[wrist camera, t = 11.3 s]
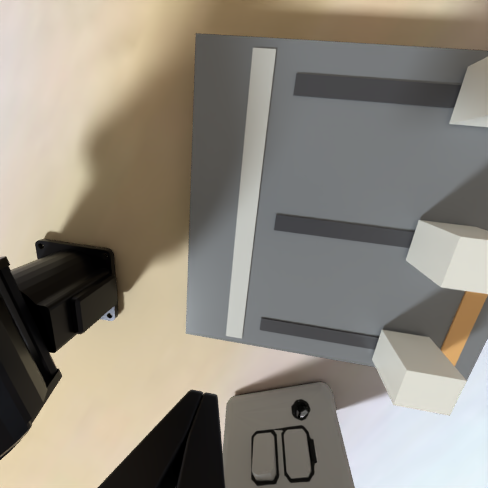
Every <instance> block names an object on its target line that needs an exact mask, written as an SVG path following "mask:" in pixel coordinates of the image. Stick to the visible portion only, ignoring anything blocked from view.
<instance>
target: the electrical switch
mask: <svg viewBox="0 0 488 488" xmlns="http://www.w3.org/2000/svg"><path fill="white" fill-rule="evenodd" d="M335 409H336V404H335V400H334V396H333V393H332V391H331V389H330V387H329V386H328V385H327V384H326V383H323V382H317V383H311V384H305V385H299V386H293V387H287V388H281V389H275V390H268V391H262V392H256V393H250V394H244V395H238V396H233V397H231V398H230V400H229V401H228V403H227V406H226V419H225V431H224V443H223V465H224V476H225V487H226V488H355V487H354V483H353V479H352V475H351V471H350V467H349V463H348V459H347V455H346V450H345V446H344V442H343V438H342V434H341V430H340V426H339V422H338V418H337V414H336V410H335ZM301 412H302V413H301ZM304 415H305V416H304ZM300 416H304V417H300Z"/></svg>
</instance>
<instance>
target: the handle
mask: <svg viewBox="0 0 488 488" xmlns="http://www.w3.org/2000/svg"><path fill="white" fill-rule="evenodd" d="M372 361H373V363H374V365H375V367H376V369H377V371H378V373H379V375H380V378H381V380H382V382H383V384H384V386H385V388H386V390H387V392H388V395H389V397H390V399H391V401H392V403H393V405H396V406H402V407H407V408H412V409H417V410H423V411H428V412H433V413H439V414H444V415H449V416H450V414H451V412H452V410H453V408H454V406H455V404H456V402H457V400H458V398H459V396H460V394H461V392H462V390H463V388H464V386H465V384H466V382H467V380H466V379H465V378H464V377H463V376H462V375H461V373H460V372H459V371H458V370H457V369H456V368H455V366H454V365H453V364H452V363H451V362H450V361H449V359H448V358H447V357H446V356H445V355H444V354H443V352H442V351H441V350H440V349H439V348H438V347H437V346H436V344H435V343H434V342H433V341H432V340H431V339H430V337H425V336H419V335H413V334H406V333H400V332H394V331H388V330H381V333H380V336H379V339H378V343H377V346H376V349H375V352H374V355H373V358H372Z"/></svg>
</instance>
